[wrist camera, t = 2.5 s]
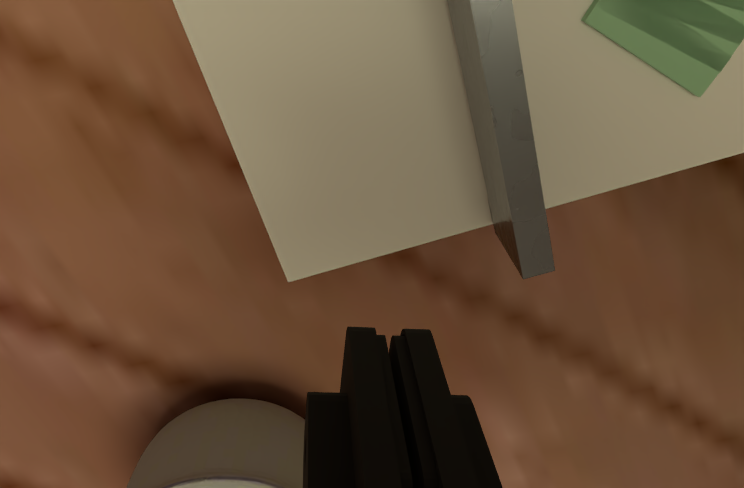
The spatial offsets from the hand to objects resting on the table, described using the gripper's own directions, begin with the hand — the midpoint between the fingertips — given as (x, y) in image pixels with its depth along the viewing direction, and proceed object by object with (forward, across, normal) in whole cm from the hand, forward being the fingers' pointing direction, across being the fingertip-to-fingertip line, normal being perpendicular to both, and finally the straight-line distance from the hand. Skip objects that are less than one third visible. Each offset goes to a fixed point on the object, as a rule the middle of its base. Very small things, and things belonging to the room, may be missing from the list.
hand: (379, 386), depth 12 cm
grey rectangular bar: (+13, -4, -5) cm, 14 cm away
